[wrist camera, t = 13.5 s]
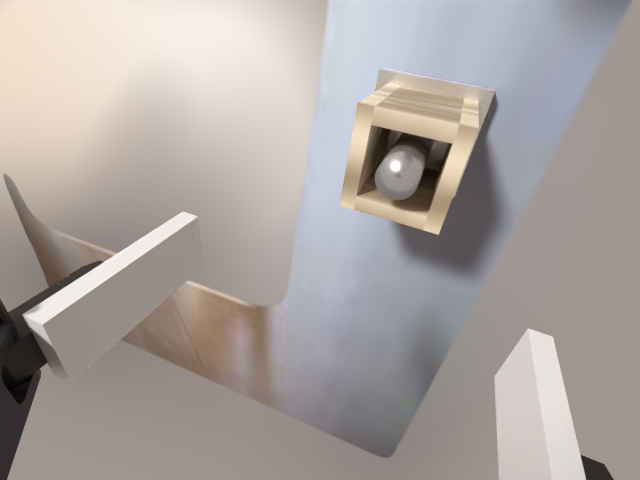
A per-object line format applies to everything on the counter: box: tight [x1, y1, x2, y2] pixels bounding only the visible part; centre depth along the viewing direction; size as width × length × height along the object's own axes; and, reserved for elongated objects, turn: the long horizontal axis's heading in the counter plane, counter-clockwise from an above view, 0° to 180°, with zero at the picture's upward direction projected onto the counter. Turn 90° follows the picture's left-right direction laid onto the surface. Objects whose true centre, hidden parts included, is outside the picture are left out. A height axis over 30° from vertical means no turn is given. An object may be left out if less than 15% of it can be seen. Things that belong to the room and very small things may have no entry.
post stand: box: [375, 68, 495, 200], centre depth 29 cm, size 10×10×13 cm
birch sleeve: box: [340, 83, 479, 235], centre depth 29 cm, size 8×8×10 cm
